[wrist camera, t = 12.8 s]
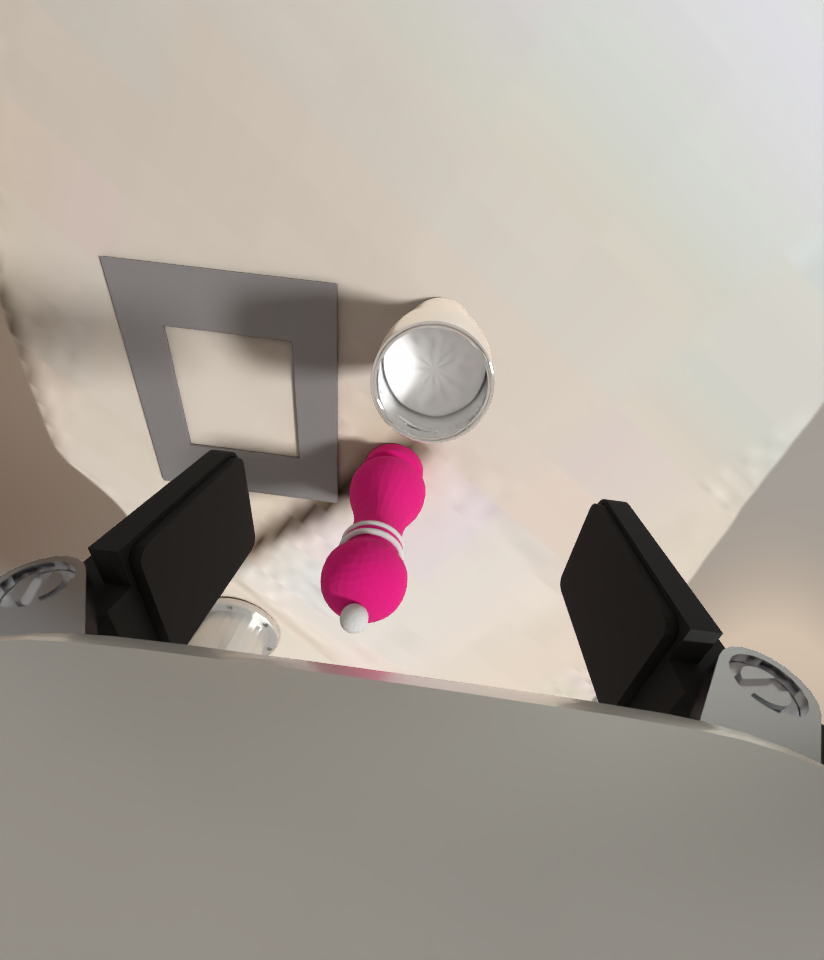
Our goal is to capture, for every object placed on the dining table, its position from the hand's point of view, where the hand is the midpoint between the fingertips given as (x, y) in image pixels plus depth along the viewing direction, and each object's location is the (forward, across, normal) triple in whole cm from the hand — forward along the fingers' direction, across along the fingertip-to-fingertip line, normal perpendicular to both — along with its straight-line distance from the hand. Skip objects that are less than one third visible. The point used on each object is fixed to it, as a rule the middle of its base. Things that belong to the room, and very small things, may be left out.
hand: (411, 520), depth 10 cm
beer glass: (+26, 0, 0) cm, 27 cm away
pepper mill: (+26, +3, +14) cm, 30 cm away
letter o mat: (+26, +19, +8) cm, 33 cm away
